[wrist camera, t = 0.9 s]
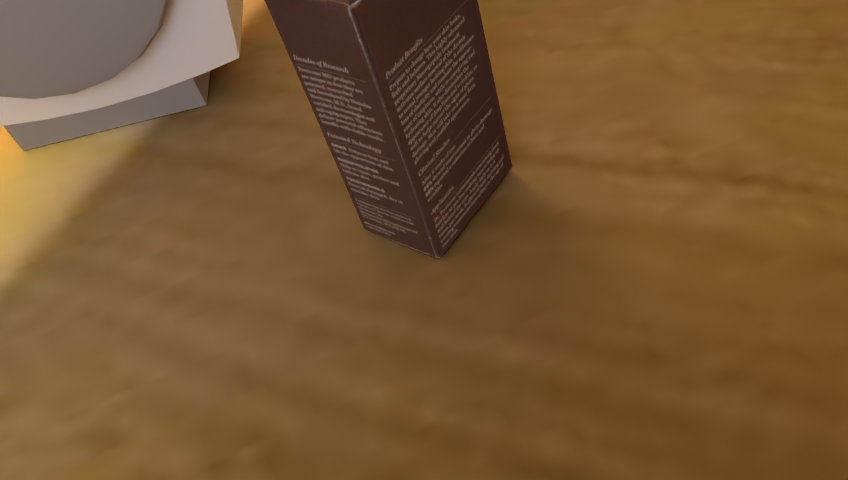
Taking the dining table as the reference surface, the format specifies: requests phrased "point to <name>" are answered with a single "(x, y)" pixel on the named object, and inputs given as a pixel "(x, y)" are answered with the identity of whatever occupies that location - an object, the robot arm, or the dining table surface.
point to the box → (402, 109)
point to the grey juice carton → (107, 62)
